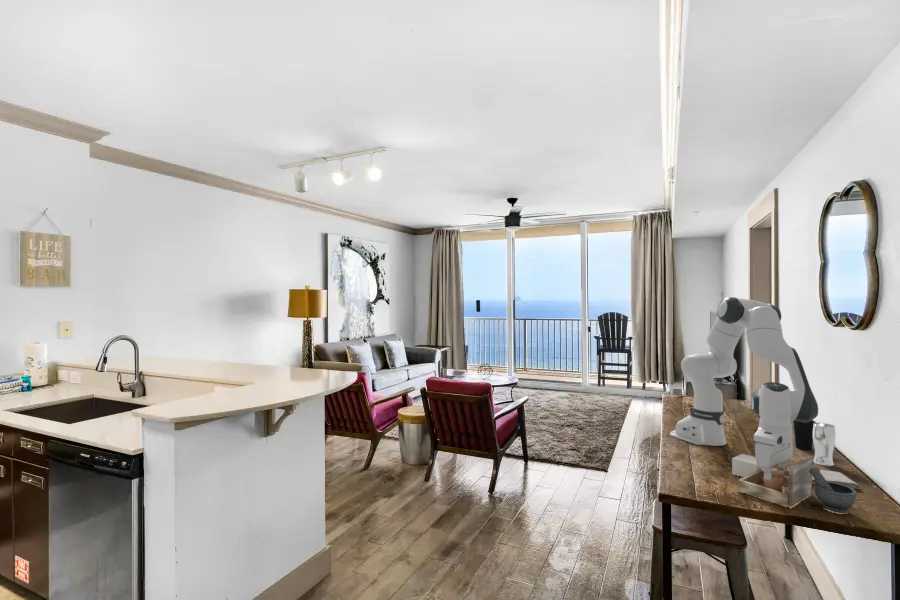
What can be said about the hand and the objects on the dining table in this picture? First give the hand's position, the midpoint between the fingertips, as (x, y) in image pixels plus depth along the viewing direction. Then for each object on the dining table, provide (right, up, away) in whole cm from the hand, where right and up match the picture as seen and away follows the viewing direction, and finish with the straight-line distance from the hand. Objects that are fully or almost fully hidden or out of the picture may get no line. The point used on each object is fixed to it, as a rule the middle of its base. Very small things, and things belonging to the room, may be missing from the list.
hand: (775, 475), depth 151 cm
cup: (+44, -6, +46) cm, 64 cm away
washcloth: (+24, -7, +12) cm, 28 cm away
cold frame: (0, -6, 0) cm, 6 cm away
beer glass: (+38, -6, +28) cm, 48 cm away
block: (+1, -6, +15) cm, 16 cm away
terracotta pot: (0, -5, 0) cm, 5 cm away
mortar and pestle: (+10, -6, -11) cm, 16 cm away
